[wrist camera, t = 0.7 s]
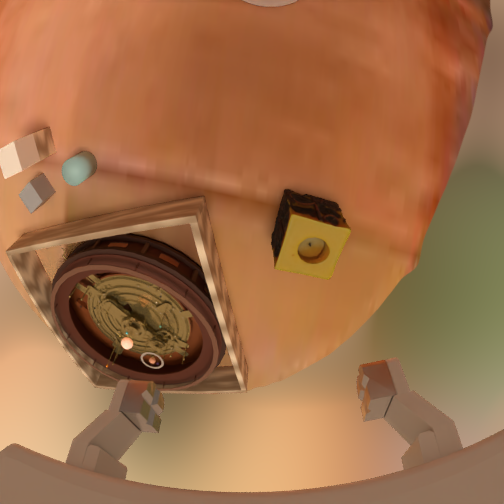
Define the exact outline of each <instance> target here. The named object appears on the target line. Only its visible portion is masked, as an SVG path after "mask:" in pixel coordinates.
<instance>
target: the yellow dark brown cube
mask: <svg viewBox="0 0 504 504" xmlns="http://www.w3.org/2000/svg"><path fill="white" fill-rule="evenodd" d="M345 220H346V219H344V217H343V215H342V212H341V209H340V208H339V206H338V204H337V203H335V202H331V201H328V200H325V199H322V198H318V197H314V196H311V195H307V194H305V195H300V194H298V193H295V192H293V191H290V190H285V191H284V196H283V198H282V201H281V204H280V208H279V211H278V217H277V218H276V224H275V229H274V232H273V233H272V242H271V245H272V250H273V254H274V263H275V264H274V267H275V269H277V270H282V271H287V272H293V273H298V274H304V275H308V276H312V277H317V278H322V279H327V280H328V279H330V278H331V276H332V274H333V271H334V269H335V265H336V263H337V261H338V258H339V256H340V254H341V252H342V249H343V247H344V245H345V243H346V241H347V239H348V237H349V235H350V232H351V229H350V227H349V226H348V225H347V223H346V221H345Z"/></svg>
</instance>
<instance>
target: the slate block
mask: <svg viewBox="0 0 504 504" xmlns="http://www.w3.org/2000/svg"><path fill="white" fill-rule="evenodd" d="M55 192H56V191H55V190H54V188H53V187H52V186H51V184H50V182H49V181H48V179H47V178H46V176H45V175H44V173H43V174H41V175H39V176H38V177H36V178H35V179H33V180H31V181H30V182H29V183H28V184H27V185H26V186H25V188H24V189H23V190H22V191H21V193H20V194H19V196H20V198H21V199H22V201H23V202H24V204H25V205H26V207H27V208H28V210H29V211H30V213H33V212H34V211H35V210H36V209H38V208H39V207H40V206H41V205H43V204H44V203H45V202H46V201H47V200H48V199H49V198H50V197H51V196H52V195H53V194H54V193H55Z"/></svg>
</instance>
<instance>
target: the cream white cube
mask: <svg viewBox="0 0 504 504" xmlns="http://www.w3.org/2000/svg"><path fill="white" fill-rule="evenodd" d="M39 161H40V157H39V154H38V151H37V147H36V143H35V140H34V136H33V133H32V134H30V135H27V136H25V137H22V138H20V139H18V140H15V141H13V142H11V143H10V144H8V145H6V146H5V147H3V148H1V149H0V166H1V169H2V172H3V175H4V178H5V179H6V178H8V177H10V176H12V175H15V174H17V173H19V172H21V171H23V170H25V169H26V168H28V167H30V166H32V165H34V164H35V163H37V162H39Z"/></svg>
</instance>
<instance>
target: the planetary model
mask: <svg viewBox="0 0 504 504" xmlns="http://www.w3.org/2000/svg"><path fill="white" fill-rule="evenodd" d="M62 249H63V248H62ZM63 250H64V249H63ZM64 251H65V250H64ZM65 252H66V251H65ZM64 254H65V253H64ZM64 254H63V257H64ZM64 258H65V257H64ZM65 259H66V261H65V262H64V263H63V264H62V265H61V267H60V268H59V269H58V270H57V273H56V275H55V277H54V279H53V283H52V291H51V302H50V305H51V313H52V317H53V320H54V323H55V325H56V328H57V329H58V331H59V333H60V335H61V336H62V338H63V339H64V341H65V342H66V343H67V345H68V346H69V347H70V348H71V349H72V350H73V351H74V352H75V353H76V354H77V355H78V356H79V357H80V358H81V359H82V360H83V361H84V362H86V363H87V364H88V365H90V366H91V367H92V368H94V369H95V370H97V371H99V372H100V373H102V374H104V375H105V376H108V377H110V378H112V379H114V380H116V381H118V382H119V379H117V378H115V377H113V376H111V375H108V374H106V373H105V372H103V371H101V370H100V369H98V368H96V367H95V366H93V365H94V364H95V362H97V363H98V364H100V365H102V366H103V367H105V368H106V369H109V370H111V371H113V372H115V373H117V374H119V375H121V376H124V377H127V380H129V378H130V379H133V380H140V381H153V382H154V383H155V384H160V385H163V388H156V389H157V390H159V391H174V390H180V389H185V388H188V387H191V386H194V385H197V384H198V383H200V382H202V381H203V380H205V379H206V378H207V377H208V376H209V375H210V374H211V373H212V372H213V370H214V369H215V368H216V367H217V366H218V365H219V364H220V362H221V360H222V358H223V356H224V354H225V350H226V343H225V340H224V337H223V334H222V331H221V328H220V324H219V321H218V318H217V315H216V312H215V308H214V305H213V302H212V299H211V295H210V292H209V289H208V285H207V282H206V279H205V275H204V272H203V270H202V269H201V268H200V267H199V266H198V265H196V264H195V263H194V262H192V261H191V260H190V259H188V258H187V257H186V256H184V255H183V254H182V253H180V252H178V251H176V250H174V249H172V248H170V247H168V246H166V245H165V244H162V243H159V242H156V241H154V240H151V239H148V238H145V237H140V236H134V235H127V234H121V235H115V236H109V237H103V238H98V239H92V240H88V241H86V242H84V243H83V244H81V245H79V246H78V247H77V248H76V249H75V250H74V251H73V252H72V253H71V255H70V256H69V257H68V259H67V258H65ZM55 314H56V315H55ZM56 317H57V319H58V321H59V322H60V324H61V326H62V328H63V330H64V331H65V332H66V334H67V335H68V337H67V339H68V338H70V339H71V340H72V342H73V343H74V344H75V345H76V346H77V347H78V348H79V349H80V350H81V351H82V352H84V353H85V354H86V355H87V356H89V357H90V358H91V359H92V360H94V363H93V365H92V364H91V363H89V362H88V361H87V360H86V359H84V358H83V357H82V356H81V355H80V354H79V353H78V352H77V351H76V350H75V349H74V348H73V347H72V345H71V344H70V343H69V342H68V340H67V339H66V338H65V336H64V334H63V332H62V331H61V329H60V327H59V324H58V321H57V319H56ZM197 379H198V380H197ZM192 381H194V382H193V383H190V384H187V385H184V386H181V387H174V388H164V385H175V384H182V383H188V382H192Z"/></svg>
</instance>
